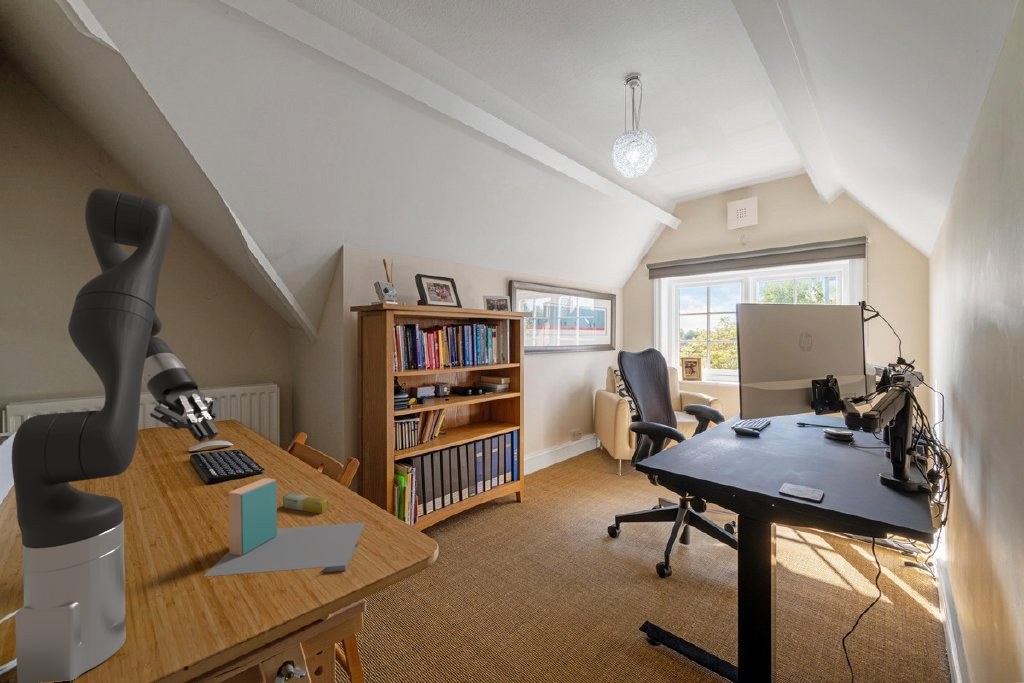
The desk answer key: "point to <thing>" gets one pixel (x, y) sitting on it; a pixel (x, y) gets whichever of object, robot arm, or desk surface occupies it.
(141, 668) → the desk surface
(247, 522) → the salmon pink box
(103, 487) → the desk surface
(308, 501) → the medication box
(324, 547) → the slate mat
